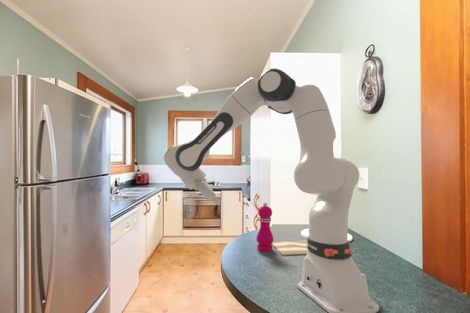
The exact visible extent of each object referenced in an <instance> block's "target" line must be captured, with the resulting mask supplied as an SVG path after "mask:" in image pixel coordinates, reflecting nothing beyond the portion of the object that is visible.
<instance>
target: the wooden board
mask: <svg viewBox="0 0 470 313" xmlns="http://www.w3.org/2000/svg"><path fill="white" fill-rule="evenodd" d="M307 240H308V239H306V240H288V241H287V240H286V241H285V240H283V241H282V240H281V241H280V240H279V241H273V242H272V244H271V245H272V247H273V248H274V249H276V251H277V252H278V253H279V254H280V255H281V256H282V257H284V256H303V255H304V256H306V255H307V253H308V249H307Z"/></svg>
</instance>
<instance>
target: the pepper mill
mask: <svg viewBox="0 0 470 313" xmlns="http://www.w3.org/2000/svg"><path fill="white" fill-rule="evenodd" d="M257 210H258V212H257V214H258V216H259V218H258V219H259V220H258V221H259V222H260V227H259V230H258V233H257V235H256V239H255V240H256V242H257V251H259V252H263V253H267V252H268V253H269V252H272V251H273V245H272V242H274V235H273V233H272V229H271V221H272V218H271V217H272V215H273V210H272V208H271V207H269V206H268V203H267V202H263V204H262V206H261V207H259V208H258V209H257Z"/></svg>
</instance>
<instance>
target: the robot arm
mask: <svg viewBox="0 0 470 313" xmlns="http://www.w3.org/2000/svg"><path fill="white" fill-rule="evenodd" d="M296 84H297V83H296V81H295V79H293V78H292V77H291V76H290V75H288V73H287V72H285V71H283V70H281V69H278V68H270V69H267V70H265V71H264V72H263V73H262V74H261V75H260V76H259V78H258V77H250V78H248V79H247V80H245V81H244V82H242V83H241V84H240V85H239V86H237V88H236V89H235V90H233V91H232V93H231V94H230V95H229V96H227V98H226V100H225V101H223V103H222V105H221V107H220V108H219V109H218V110H217V112H216V114H215V116H214V117H213V119H212V120H211V122H210V123H209V124H208V125H207V126H206V127H205V128H204V129H203V130H202V131H201V132H200V133H199V134H198V135H197V136H196V137H195V138H194V139H191V140H189V141H187V142H184V143H182V144H178V145H174V144H173V145H172V146H171V147H169V149H168V150H167V151H166V152H165V154H164V157H163V161H164V163H165V165H166V166H167V167H168V168H169V170H170V171H172V173H173V174H174V175H176V176H177V177H179V179H180V180H181V182H182V183H184V185H185V186H186V187H187V188H189V189H188V190H191V191H192V190H194V191H198V192H199V193H200V194H201V195H202V196H203V197H204V198H205V199H206V200H207V201H208V202H210V201H213V202H214V203H215V204H216V205H218V206H219V204H220V203H221V201H220V199H219V198H218V197H217V195H216V193H215V191H214V190H213V189H212V187H211V186H210V184H209V183H208V180H207V178H206V176H207V174H206V173H205V172H204V171H203V170H202V169H201V167H200V166H201V165H202V164H203V162H205V160H206V159H207V158H208V156H209V155H210V150H211V148H212V147H213V146H214V145H215V144H216V143H217V142H218V141H219V140H220V139H222V137H223V136H225V135H226V134H227V133H228V132H231V131H232V130H234V129H235V128H237V127H239V126H241V125H242V124H243V123H245V122H246V121H247V120H248V119H250V118H251V116H253V115H254V113H256V111H258V110H259V109H260V108H261V107H263V106H267V108H268V109H270V110H272V111H274V112H276V113H278V114H281V115H290V114H292V115H293V118H294V123H295V126H296V131H297V135H298V139H299V144H300V156H299V161H298V163H297V165H296V166H295V168H294V171H293V172H294V173H293V179H294V183H295V185H296V187H297V189H299V190H300V191H302V192H304V193H306V194H310V195H314V196H315V195H316V199H315V202H314V204H313V206H312V207H311V208H310V210H309V214H308V224H309V225H308V228H309V236H308V239H306V240H307V249H308V253H307V255H304V258H303V262H302V270H301V271H302V272H301V280H300V281H299V282H297V288H298V289H299V290H301V292H303V293H304V294H305V295H306V296H307V297H309V299H311V300H312V301H314V302H315V303H316V304H317V305H319V307H321V308H322V309H323V310H325V311H326V312H328V313H378V312H379V311H380V306H379V304H378V303H377V302H376V301H375V300H374V299H373V298H372V296H370V294H369V287H368V282H367V276H366V274H365V273H362V272H361V271H360V269H359V268H358V266H357V264H356V263H355V261H354V260H353V258H352V255H353V254H354V251H353V249H352V248H351V245H350V242H349V241H348V234H349V232H348V230H349V227H348V226H349V211H350V207H351V202H352V199H353V194H354V191H355V188H356V186H357V184H358V183H359V180H360V170H359V168H358V167H357V166H356V164H355V163H353V162H351V161H349V160H347V159H346V158H341V157H340V158H339V157H335V154H334V141H335V140H336V137H337V133H336V129H335V125H334V121H333V119H332V115H331V112H330V109H329V106H328V103H327V101H326V99H325V98H326V97H324V95H323V92H322V91H321V89H320V88H319V87H318V86H316V85H314V84H305V85H301V86H298V85H296Z"/></svg>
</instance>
